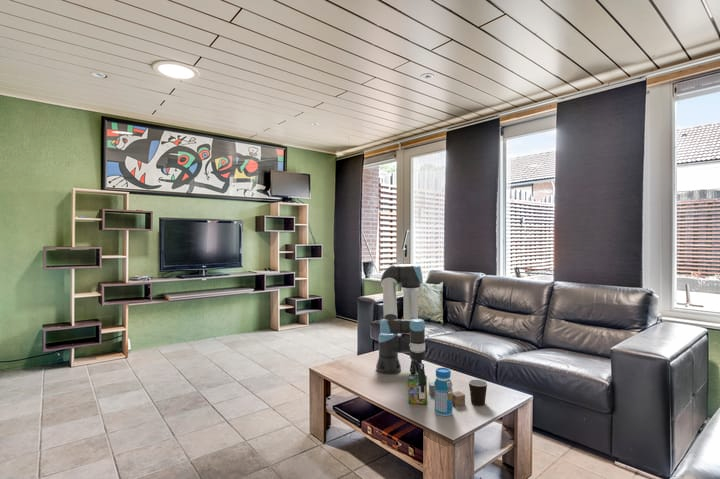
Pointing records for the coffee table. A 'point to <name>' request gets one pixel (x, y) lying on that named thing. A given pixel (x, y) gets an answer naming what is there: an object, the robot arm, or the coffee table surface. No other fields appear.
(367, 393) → the coffee table surface
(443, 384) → the beverage bottle
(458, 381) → the coffee table surface
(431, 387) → the gray cube
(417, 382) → the chalk box
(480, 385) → the coffee mug
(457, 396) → the walnut block
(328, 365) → the coffee table surface
